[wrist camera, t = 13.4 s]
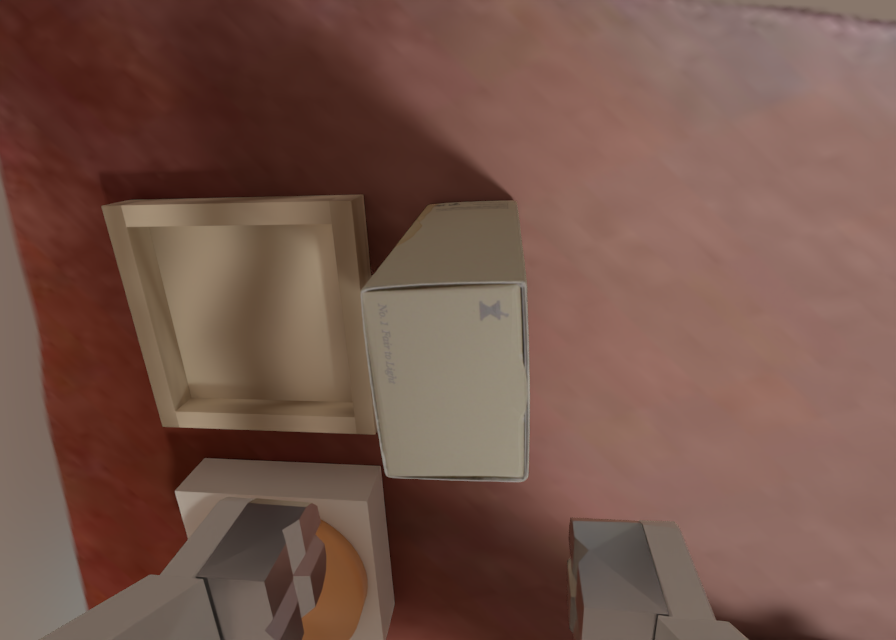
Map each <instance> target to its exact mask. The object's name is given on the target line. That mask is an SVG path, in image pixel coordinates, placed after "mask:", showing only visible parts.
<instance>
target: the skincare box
mask: <svg viewBox="0 0 896 640" xmlns="http://www.w3.org/2000/svg"><path fill="white" fill-rule="evenodd" d="M360 297H361V310H362V319H363V332H364V339H365V349H366V356H367V364H368V372H369V379H370V386H371V392H372V398H373V406H374V412H375V418H376V425H377V432H378V437H379V443H380V449H381V457H382V461H383V466H384V472H385V475H386V476H387V477H389V478H401V479H426V480H450V481H495V482H523V481H525V480H526V479H527V478H528V474H529V435H530V376H529V334H528V306H527V281H526V272H525V263H524V255H523V248H522V240H521V232H520V223H519V215H518V208H517V202H516V201H514V200H509V201H474V202H453V203H440V204H429V205H427V206H426V208H425V209H424V210H423V212H422V213H421V214H420V215H419V217H418V218H417V219H416V221H415V222H414V223H413V224H412V226H411V227H410V228H409V229H408V231H407V232H406V233H405V235H404V236H403V237H402V238H401V240H400V241H399V242H398V244H397V245H396V246H395V248H394V249H393V250H392V251H391V253H390V254H389V255H388V257H387V258H386V259H385V260H384V262H383V263H382V264H381V265H380V267H379V268H378V269H377V271H376V272H375V273H374V274H373V276H372V277H371V278H370V279H369V281H368V282H367V283H366V285H365V286H364V287H363V288H362V289H361V292H360Z"/></svg>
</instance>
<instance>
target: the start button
mask: <svg viewBox="0 0 896 640" xmlns="http://www.w3.org/2000/svg"><path fill="white" fill-rule="evenodd" d="M320 521H321V523H320V525H319V527H318V529H317V531H316V535H317V537H318V538H319V539H320V540H321V541H322V542H323V543H324V544H325V550H326V574H325V579H324V583H323V588H322V592H321V594H320V597H319V599H318V602H317V604H316V607H315V608H313V609H312V610H311V611H310V612H308V613H307V614H306V615H305V616H303V617H302V623H303V629H304V635H303V638H302V640H349V639H350V638H351V637H352V636H353V634H354V632H355V630H356V628H357V625H358V622H359V619H360V616H361V613H362V610H363V606H364V603H365V600H366V597H367V590H368V579H367V574H366V570H365V567H364V565H363V562H362V560H361V558H360V556H359V555H358V553H357V551H356V550H355V549H354V547H353V546H352V545H351V543H350V542H349V541H348V540H347V539H346V538H345V537H344V536H343V535H342V534H341V533H339V532H338V531H337V530H336V529H335V528H333V527H332V526H330V525H329V524H328V523H326V522H325V521H323V520H321V519H320Z"/></svg>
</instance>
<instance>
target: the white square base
mask: <svg viewBox="0 0 896 640" xmlns="http://www.w3.org/2000/svg"><path fill="white" fill-rule="evenodd" d="M175 495H176V498H177V502H178V505H179V509H180V512H181V516H182V519H183V523H184V526H185V530H186V533H187V537H188V539H189V538H190V536H191V535H192V534H193V533H194V531H195V530H196V529H197V528H198V526H199V525H200V524H201V523H202V521H203V520H204V519H205V518H206V516H207V515H208V514H209V513H210V511H211V510H212V509H213V508H214V506H215V505H216V504H217V503H218V502H219V501H220V500H222V499H224V498H226V497H228V496H229V497H240V498H252V499H256V498H260V499H272V500H285V501H297V502H309V503H313V504H315V505H316V506H318V511H319V516H320V519H321V520H323V521H325V522H326V523H328V524H329V525H330V526H332V527H333V528H335V529H336V530H337V531H338V532H339V533H341V534H342V535H343V536H344V537H345V538H346V539H347V540H348V541H349V542H350V543H351V545H352V546H353V547H354V549H355V550H356V551H357V553H358V555H359V556H360V558H361V560H362V562H363V565H364V567H365V570H366V574H367V579H368V590H367V597H366V600H365V603H364V606H363V610H362V613H361V616H360V619H359V622H358V625H357V628H356V630H355V632H354V634H353V636H352V637H351V638H350V639H349V640H386V638H387V634H388V630H389V626H390V621H391V617H392V613H393V609H394V605H395V601H394V591H393V582H392V572H391V562H390V552H389V542H388V532H387V522H386V513H385V503H384V493H383V483H382V473H381V466H371V465H349V464H327V463H305V462H283V461H261V460H238V459H216V458H204V459H203V460H202V461H201V462H200V464H199V465H198V466H197V467H196V468H195V469H194V470H193V471H192V472H191V473H190V475H189V476H188V477H187V478H186V479H185V480H184V481H183V482H182V483H181V484H180V486H179V487H178V488H177V489H176V490H175Z"/></svg>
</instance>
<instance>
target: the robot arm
mask: <svg viewBox="0 0 896 640" xmlns="http://www.w3.org/2000/svg"><path fill="white" fill-rule="evenodd" d="M320 523H321V521H320V516H319V511H318V506H316V505H315V504H313V503H309V502H297V501H285V500H272V499H260V498H256V499H252V498H240V497H229V496H228V497H226V498H224V499H222V500H220V501H219V502H218V503H217V504H216V505H215V506H214V508H213V509H212V510H211V511H210V513H209V514H208V515H207V516H206V518H205V519H204V520H203V521H202V523H201V524H200V525H199V526H198V528H197V529H196V530H195V531H194V533H193V534H192V535H191V536H190V538H189V539H188V540H187V541H186V543H185V544H184V545H183V546H182V548H181V549H180V550H179V551H178V553H177V554H176V555H175V556H174V558H173V559H172V560H171V561H170V563H169V564H168V565H167V566H166V568H165V569H164V570H163V571H162V573H161V574H160V575H149V576H147V577H145V578H144V579H142V580H140V581H138V582H137V583H135V584H133V585H132V586H130V587H128V588H126V589H125V590H123V591H121V592H120V593H118V594H116V595H114V596H113V597H111V598H109V599H108V600H106V601H104V602H102V603H101V604H99V605H97V606H96V607H94V608H92V609H91V610H89V611H87V612H85V613H84V614H82V615H80V616H79V617H77V618H75V619H73V620H72V621H70V622H69V623H67V624H65V625H63V626H61V627H60V628H58V629H56V630H55V631H53V632H51V633H50V634H48V635H46V636H44V637H43V638H41V639H39V640H302V638H303V635H304V629H303V623H302V617H303V616H305V615H306V614H307V613H308V612H310V611H311V610H312V609H313V608H315V607H316V604H317V602H318V599H319V597H320V594H321V592H322V588H323V583H324V579H325V574H326V550H325V544H324V543H323V542H322V541H321V540H320V539H319V538H318V537H317V535H316V531H317V529H318V527H319V525H320ZM569 547H570V557H571V558H570V559H569V560H568V561H567V605H568V618H569V629H570V630H571V631H572V632H573V640H749V639H748V638H746V637H745V636H744V635H743V634H742V633H741V632H740V631H739V630H737V629H736V628H735V627H734V626H733V625H732V624H731V623H730V622H727V621H717V620H716V618H715V616H714V613H713V611H712V608H711V605H710V603H709V600H708V598H707V595H706V593H705V590H704V588H703V585H702V583H701V580H700V578H699V575H698V573H697V570H696V568H695V565H694V563H693V560H692V558H691V555H690V553H689V550H688V548H687V545H686V543H685V540H684V538H683V535H682V533H681V530H680V528H679V526H678V525H677V524H676V523H675V522H670V521H644V520H639V521H632V520H612V519H592V518H570V524H569Z"/></svg>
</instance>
